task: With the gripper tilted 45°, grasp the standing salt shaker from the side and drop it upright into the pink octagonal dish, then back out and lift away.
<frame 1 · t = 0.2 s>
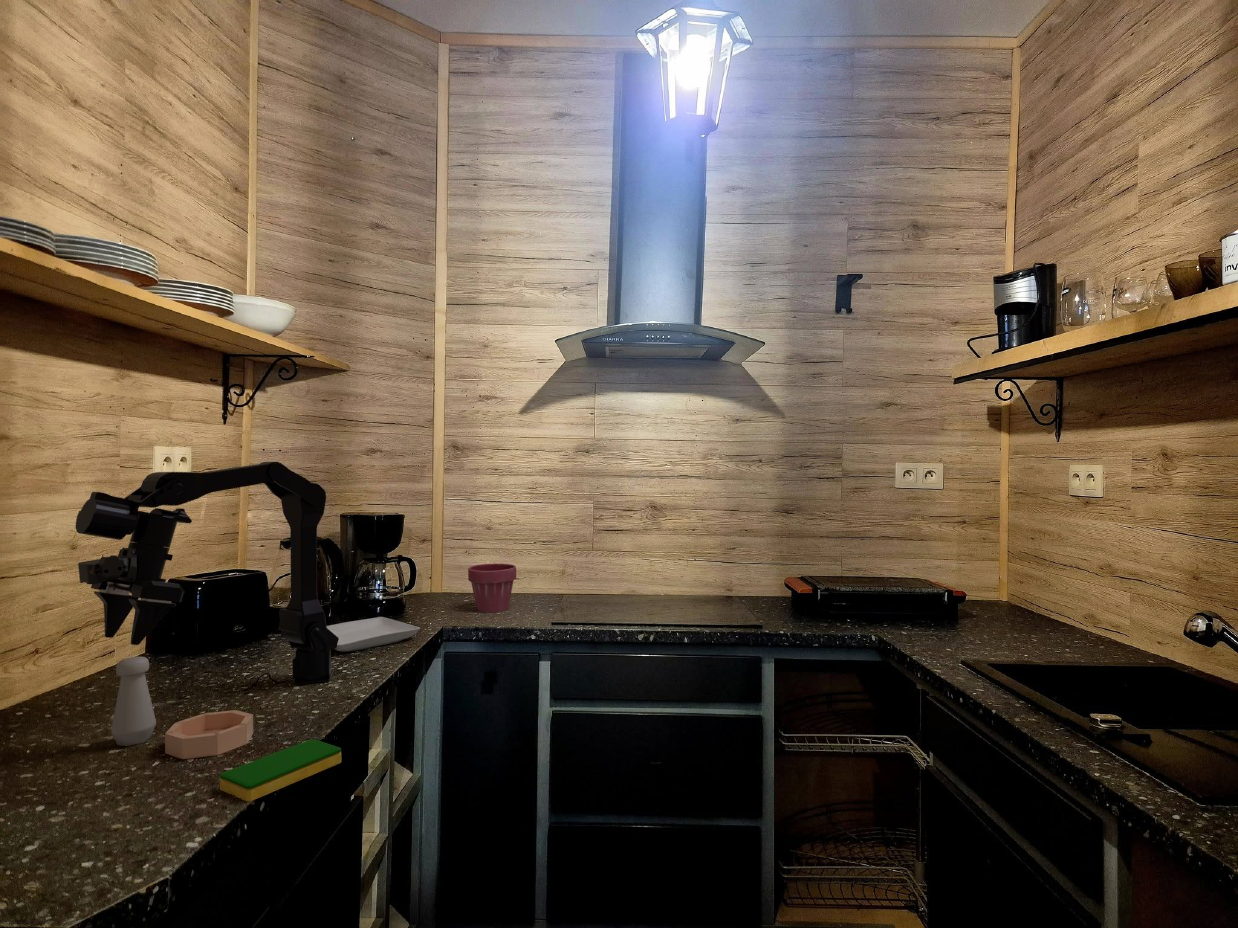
hand: (121, 640, 111), 15 cm above the worktop, tool tilted 15°, fingers open, 9 cm apart
salt shaker: (134, 741, 109), on the worktop
salad plate: (361, 642, 170), on the worktop
pink octagonal dish: (210, 742, 107), on the worktop
dish sponge: (283, 778, 96), on the worktop
plant pot: (492, 610, 205), on the worktop
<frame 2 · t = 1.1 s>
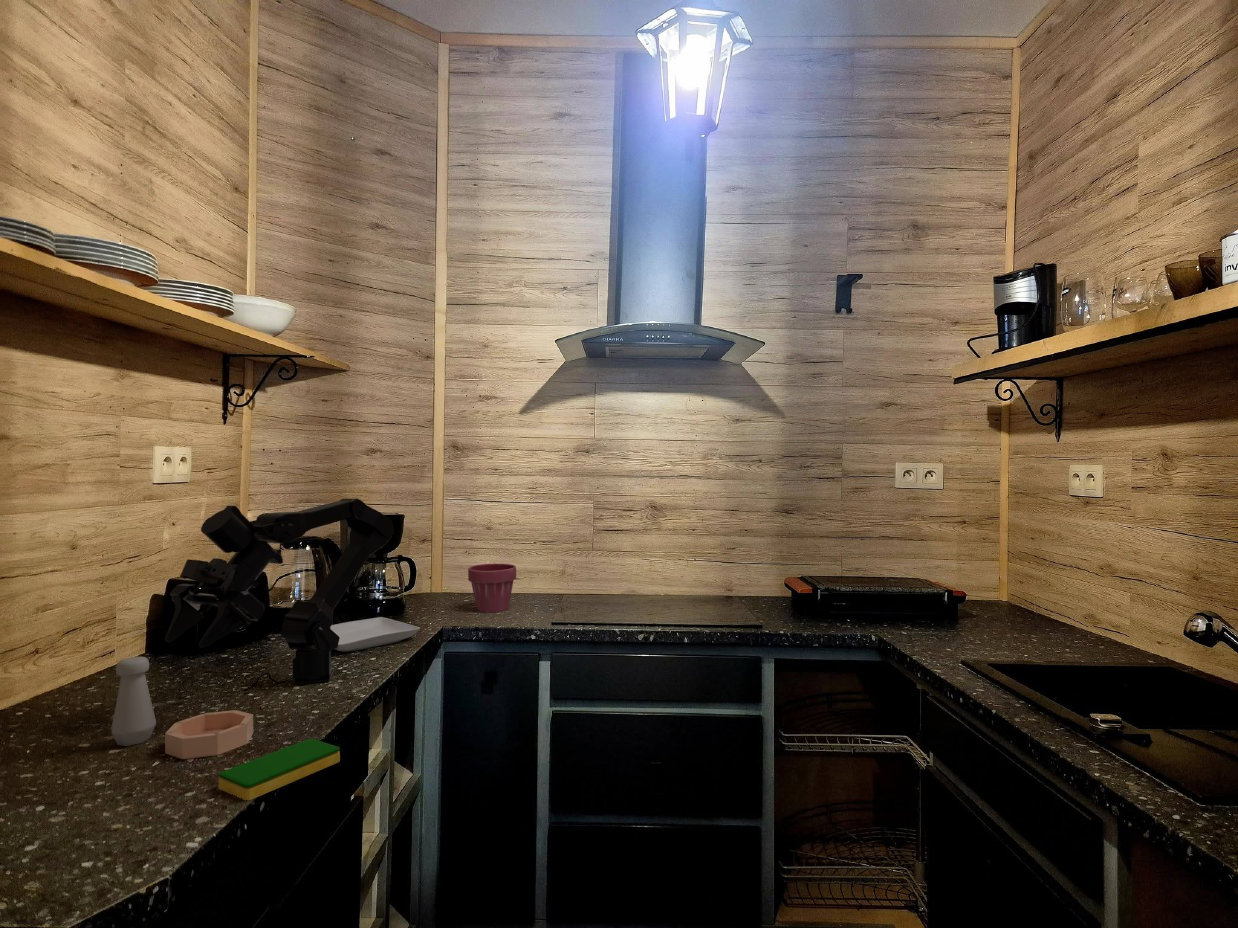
hand: (183, 643, 116), 13 cm above the worktop, tool tilted 45°, fingers open, 9 cm apart
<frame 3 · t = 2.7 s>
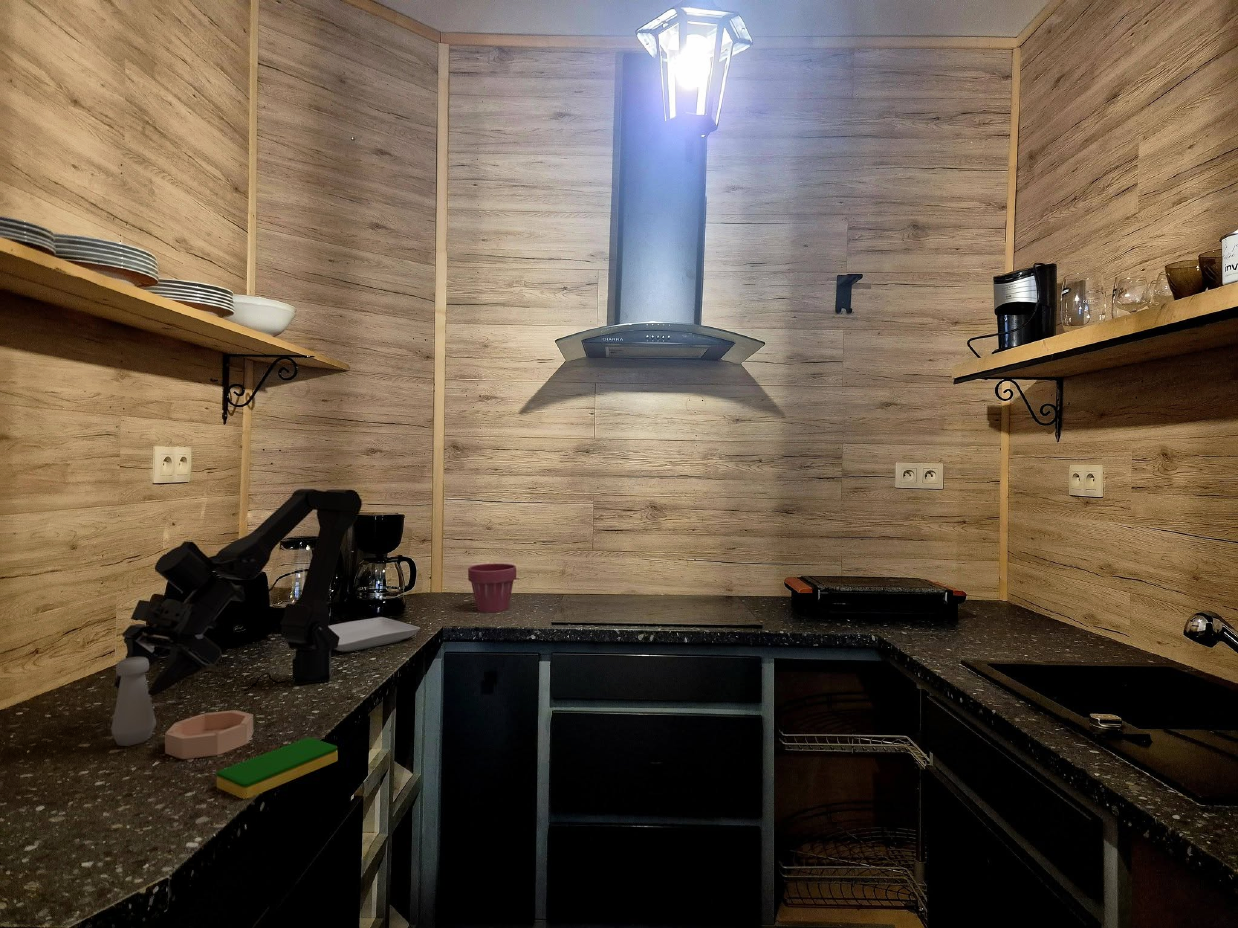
hand: (133, 690, 109), 8 cm above the worktop, tool tilted 45°, fingers open, 9 cm apart
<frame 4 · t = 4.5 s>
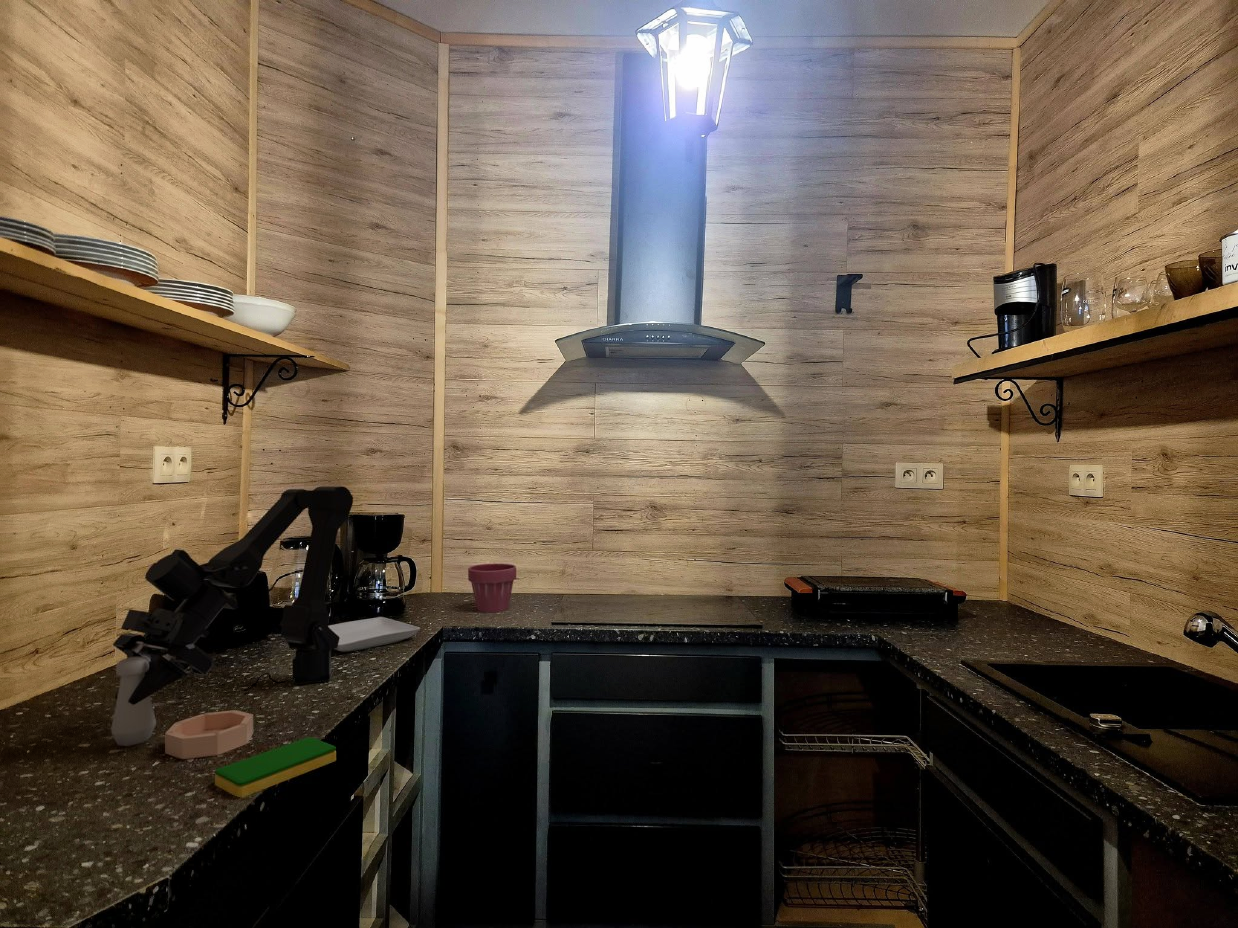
hand: (123, 701, 107), 7 cm above the worktop, tool tilted 45°, fingers closed on salt shaker, 3 cm apart
salt shaker: (134, 741, 109), on the worktop, touching gripper
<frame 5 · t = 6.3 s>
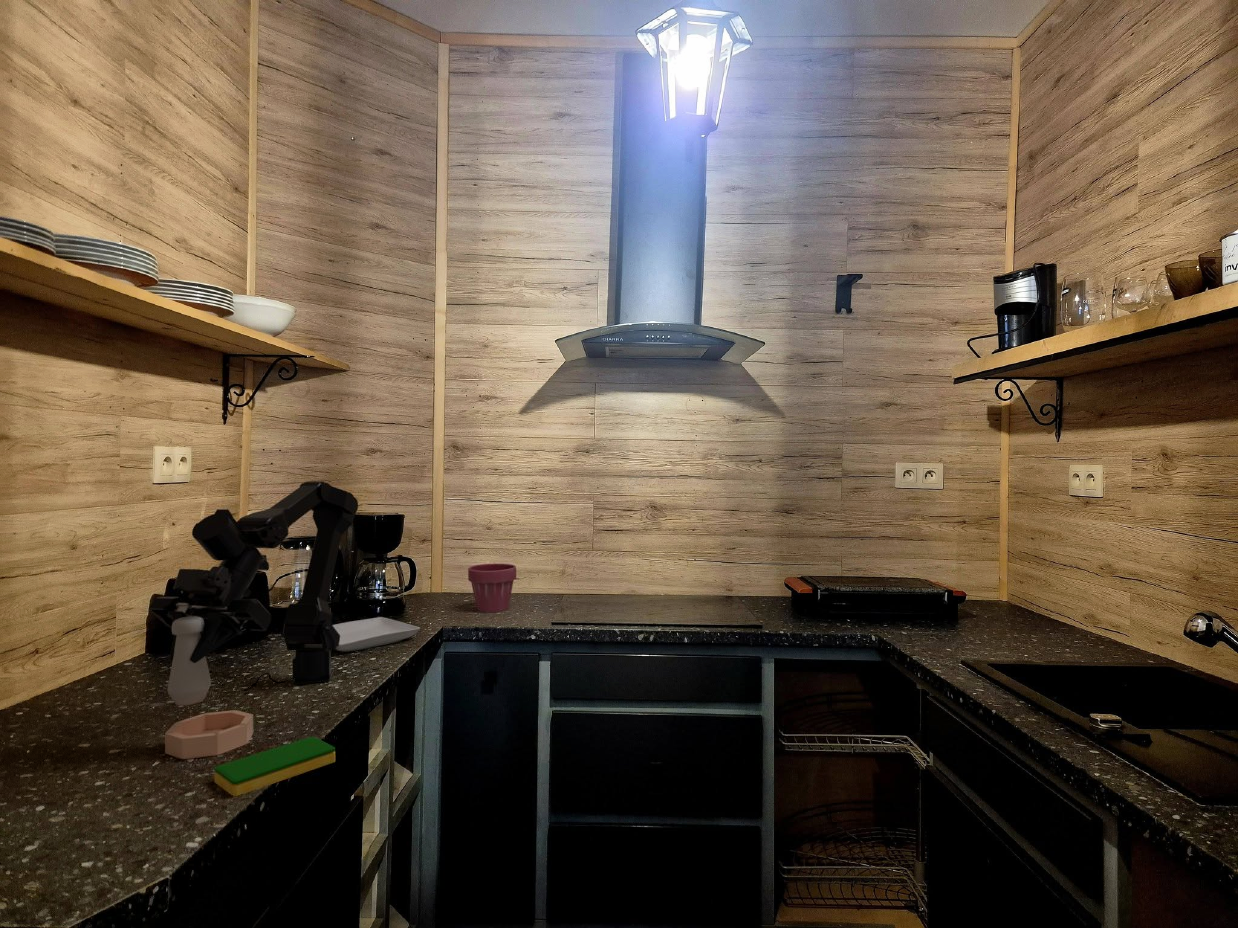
hand: (182, 661, 106), 13 cm above the worktop, tool tilted 45°, fingers closed on salt shaker, 3 cm apart
salt shaker: (189, 701, 107), point 6 cm above the worktop, touching gripper
when the fingers open (8 cm above the worktop, at t = 8.4 s): salt shaker drops 1 cm, resting on pink octagonal dish.
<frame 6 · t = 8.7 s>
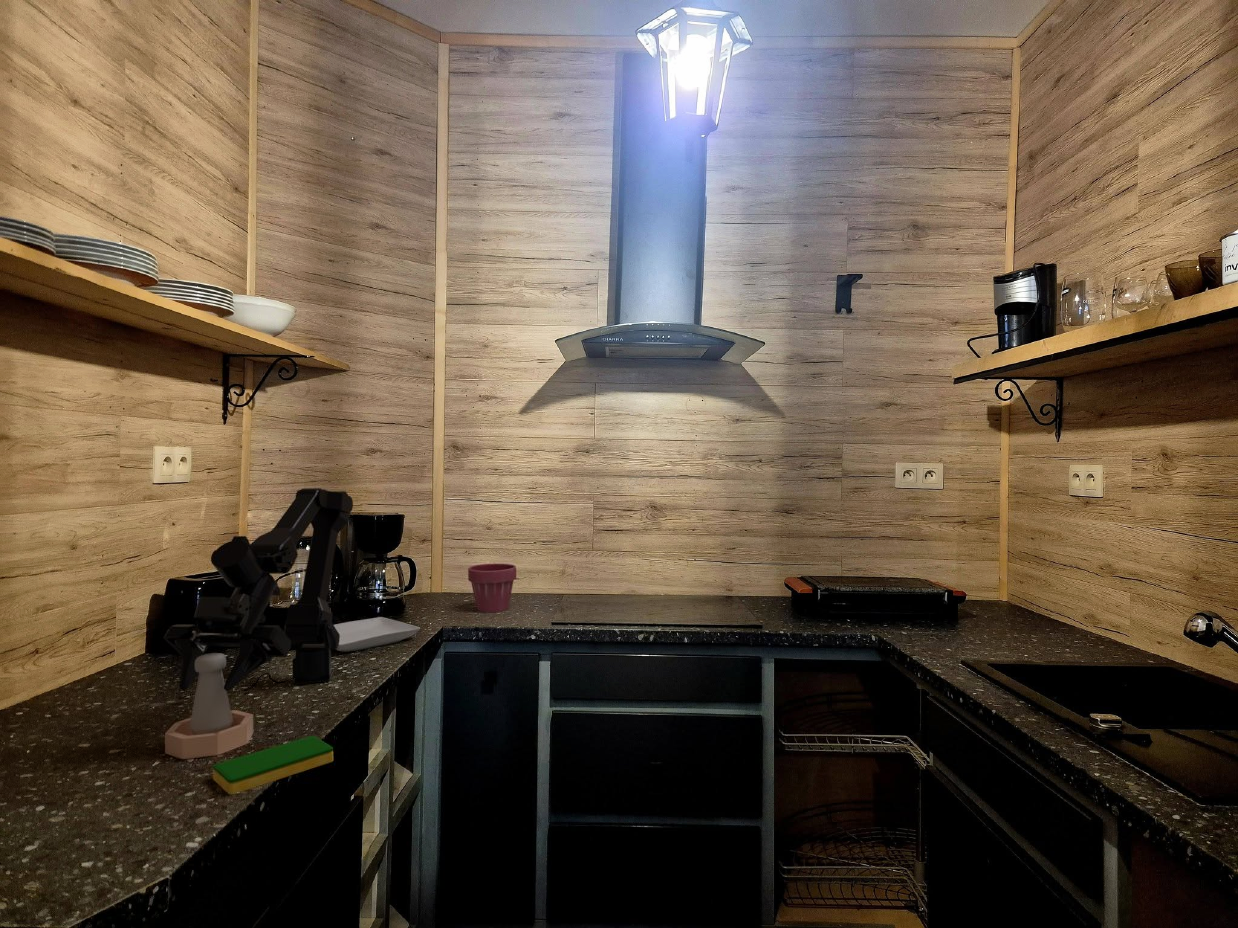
hand: (203, 689, 106), 9 cm above the worktop, tool tilted 45°, fingers open, 7 cm apart
salt shaker: (211, 739, 108), resting on pink octagonal dish
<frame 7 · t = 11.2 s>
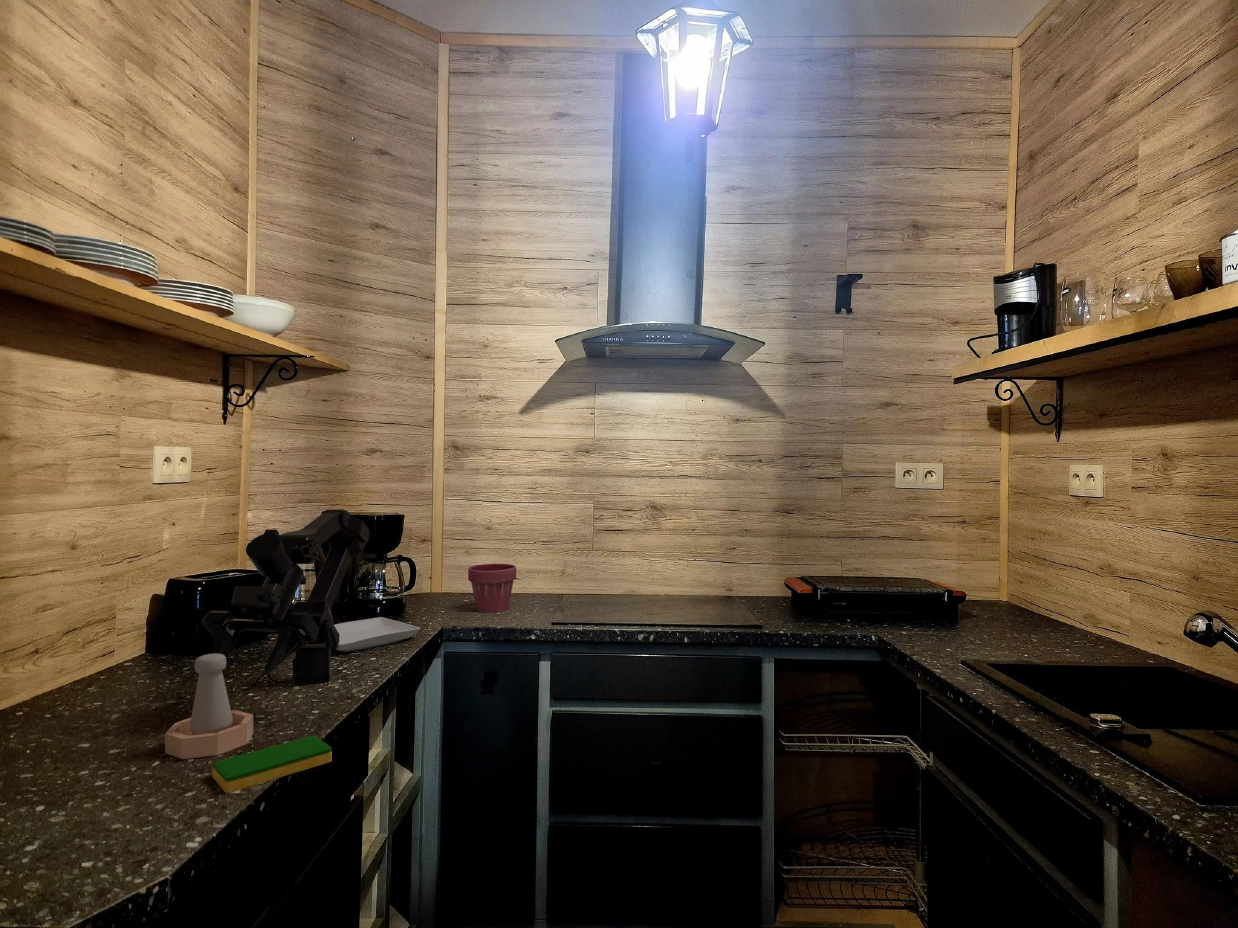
hand: (240, 671, 115), 9 cm above the worktop, tool tilted 45°, fingers open, 9 cm apart
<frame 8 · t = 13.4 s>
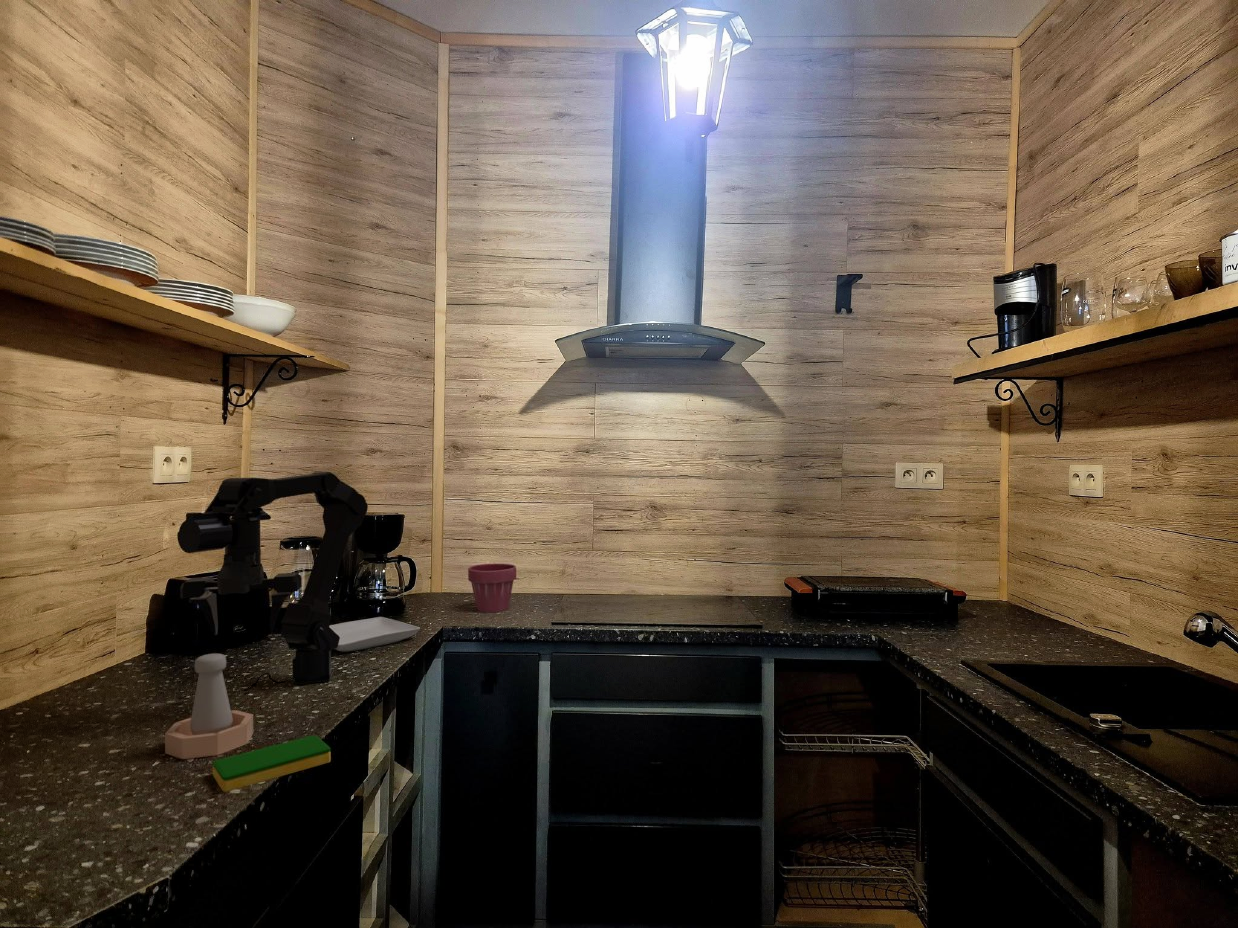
hand: (243, 632, 125), 13 cm above the worktop, tool pointing down, fingers open, 9 cm apart
at the end: salt shaker 0.2 cm off-centre on the pink octagonal dish, point 0.4 cm above the pink octagonal dish's base; salt shaker tilted 0°; the gripper is holding nothing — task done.
